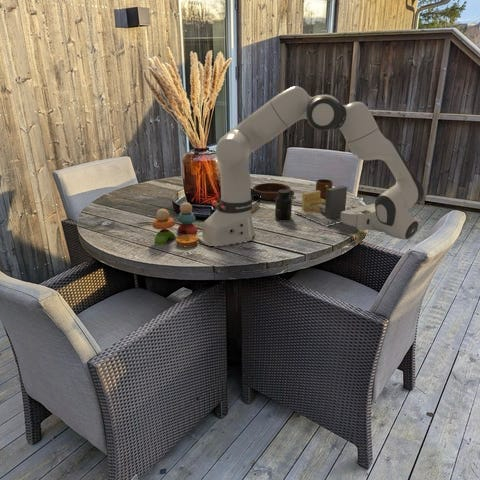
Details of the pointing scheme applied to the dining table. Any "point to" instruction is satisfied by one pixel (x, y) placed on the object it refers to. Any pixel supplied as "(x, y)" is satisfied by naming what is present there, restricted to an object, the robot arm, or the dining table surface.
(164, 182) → the dining table surface
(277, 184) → the dish
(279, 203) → the supplement bottle
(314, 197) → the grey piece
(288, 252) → the dining table surface
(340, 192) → the gray rectangular block
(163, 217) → the wooden stacking toy
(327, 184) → the mug
